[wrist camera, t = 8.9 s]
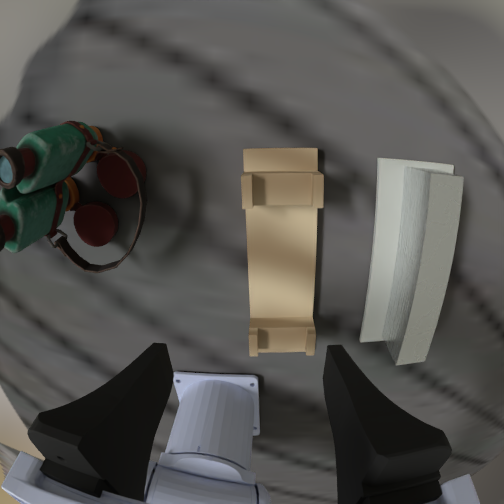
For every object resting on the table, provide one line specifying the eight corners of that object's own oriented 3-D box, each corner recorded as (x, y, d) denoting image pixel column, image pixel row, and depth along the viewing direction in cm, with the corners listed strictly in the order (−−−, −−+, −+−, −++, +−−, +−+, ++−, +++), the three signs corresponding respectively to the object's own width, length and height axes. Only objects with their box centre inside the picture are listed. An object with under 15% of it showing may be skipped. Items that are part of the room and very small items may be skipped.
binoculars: (74, 344, 14) (-43, 248, 12) (129, 261, 24) (40, 198, 21) (139, 214, 12) (-12, 107, 9) (185, 170, 21) (82, 103, 18)
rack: (309, 347, 25) (312, 369, 22) (252, 347, 25) (250, 370, 23) (316, 148, 19) (323, 149, 17) (244, 148, 20) (240, 150, 17)
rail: (408, 333, 24) (424, 361, 20) (381, 335, 24) (395, 365, 20) (434, 169, 19) (463, 176, 15) (404, 166, 19) (430, 173, 15)
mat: (422, 333, 24) (424, 335, 24) (359, 339, 25) (360, 342, 24) (451, 164, 19) (453, 165, 19) (377, 157, 19) (379, 158, 19)
